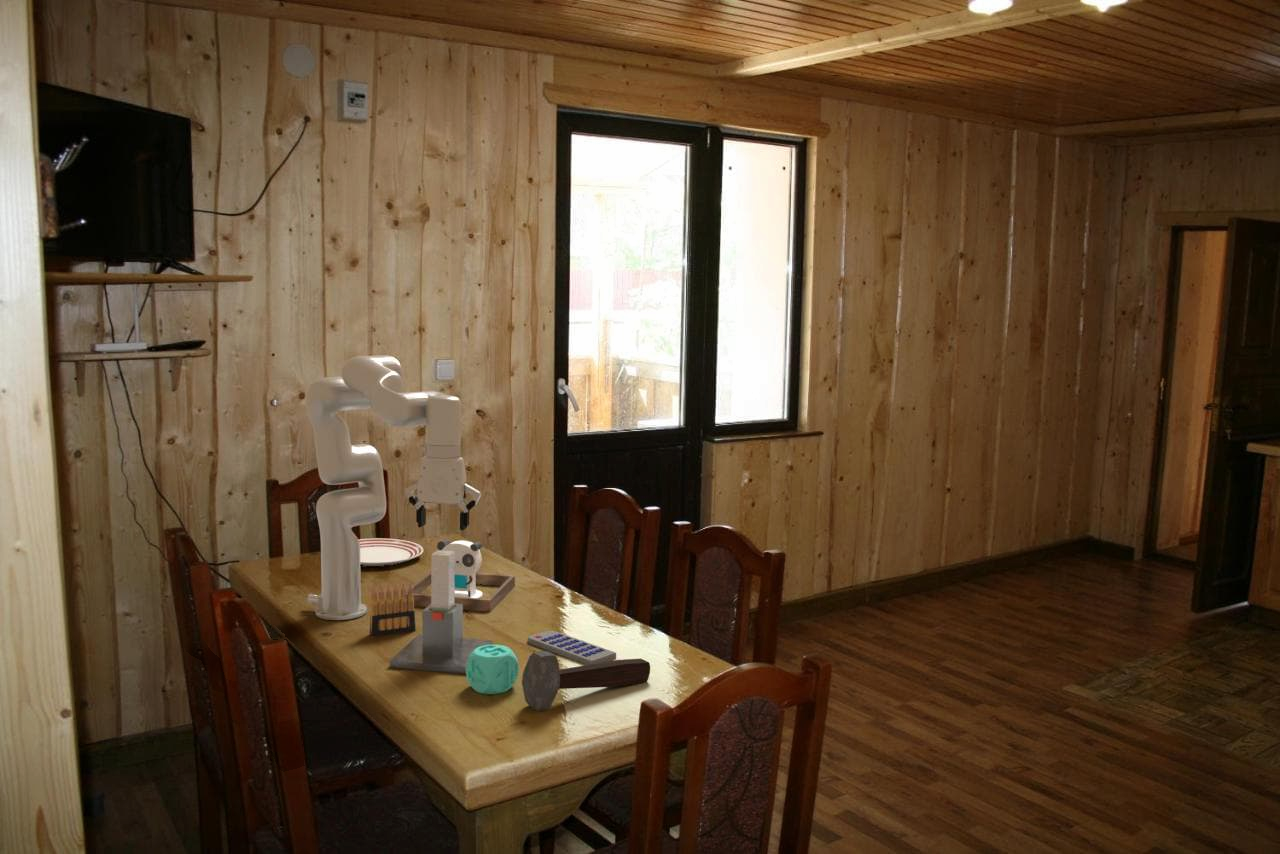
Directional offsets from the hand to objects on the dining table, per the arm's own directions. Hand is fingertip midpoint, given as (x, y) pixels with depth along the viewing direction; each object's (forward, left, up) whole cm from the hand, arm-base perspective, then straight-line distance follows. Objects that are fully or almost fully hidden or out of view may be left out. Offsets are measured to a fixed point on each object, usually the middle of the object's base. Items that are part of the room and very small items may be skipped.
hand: (442, 527), depth 234 cm
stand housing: (0, 0, -30) cm, 30 cm away
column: (0, 0, -22) cm, 22 cm away
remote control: (+28, +11, -31) cm, 42 cm away
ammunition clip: (-17, +13, -30) cm, 37 cm away
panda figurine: (-11, +46, -30) cm, 56 cm away
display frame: (-11, +46, -30) cm, 56 cm away
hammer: (+37, -14, -30) cm, 50 cm away
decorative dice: (+16, -15, -30) cm, 37 cm away
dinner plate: (-47, +76, -30) cm, 94 cm away
